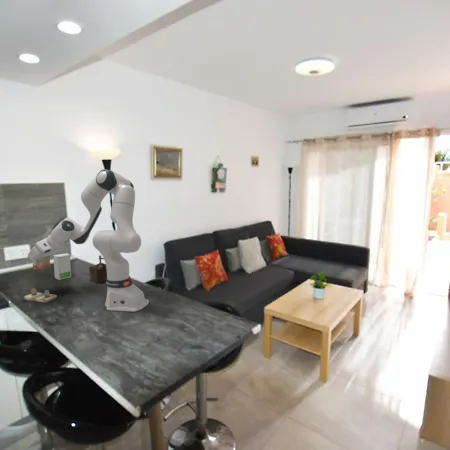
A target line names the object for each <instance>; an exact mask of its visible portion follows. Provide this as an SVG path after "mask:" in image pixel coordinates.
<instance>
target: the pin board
mask: <svg viewBox="0 0 450 450" xmlns="http://www.w3.org/2000/svg"><path fill="white" fill-rule="evenodd" d="M57 298H58V295H57V294H52V293H50V290H49V289H46V290H44V291H43V292H38V291H37V289H36V287H32V288H31V289H30V293H29V294H27V295H26V294H25V295H24V296H23V300H27V301H34V302H39V303H40V302H41V303H46V304H47V303H48V302H51V301H53V300H54V299H57Z"/></svg>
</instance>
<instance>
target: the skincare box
mask: <svg viewBox="0 0 450 450" xmlns="http://www.w3.org/2000/svg"><path fill="white" fill-rule="evenodd" d="M52 256H53V269H54V270H53V271H54V273H53V274H54V279H56V280H59V281H60V280H65V279H68V278H69V279H70V278H72V268H71V254H69V253H57V254H54V255H52Z"/></svg>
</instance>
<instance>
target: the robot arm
mask: <svg viewBox="0 0 450 450" xmlns="http://www.w3.org/2000/svg"><path fill="white" fill-rule="evenodd" d="M109 193H111V194H112V195H113V198H112V204H111V209H110V215H109V217H110V220H111V221H112V223H114V224H116V230H112V229H111V230H110V229H105V230H100V231H97V232H95V234H94V235H93V237H92V246H93V247H94V248H95V249H96V250H97V251H98V252H99V253H100V255H101V257H102V258H104V259H103V260H104V262H105V263H104V264H106V269H107V279H106V282H105V284H106V288H107V289H106V299H105V303H104V307H106V311H114V312H115V311H117V312H131V313H132V312H133V313H134V312H139V311H140V310H142V309H144V308H145V307H147V306H148V305H149V303H150V300H149V299H146V298H145V294H144V291H143V290H141V289H140V288H139V287H137V286H136V285H135V284H134V281H135V278H132V277H131V276H130V264H129V260H128V259H126V258H124V256H123V255H122V253H123V254H131V253H137V252H138V251H139V249H140V248H141V245H142V238H141V236H140V234H139V233H137V231H136V230H135V227H134V223H133V217H134V211H135V203H136V191H135V187H134V183H132V181H130V180H129V179H127V178H125V177H124V176H122V175H121V174H120V173H117V172H116V171H112V170H111V169H107V168H106V169H105V168H104V169H103V168H102V169H101V170H100V171H99V172H97V174H96V176H95V177H94V178H93V179H92V180H90V182H89V183H88V184H87V185H86V186H85V188H84V189H83V190H82V192H81V194H80V200H81V202H82V204H83V205H84V207H85V209H87V211H88V212H89V215H90V217H89V219H88V221H87V223H86V224H85V226H82V225H81V224H79V223H78V222H76V221H75V220H73V219H72V218H70V217H68V216H62V217H60V218H59V219H58V220H57V221H56V223H55V224H54V225H52V226H53V227H52V231H51V233H50V234H49V235H48V236H47V237H45V238H44V239H42V240H39V241H37V242H36V243H35V244H34V246H33V247H32V248H31V249H30V251H29V253H28V254H27V257H28V258H29V260H30V261H32V260H33V262H37V261H38V259H39V258H43V257H46V256H50V257H52V256H53V255H58V254H61V252H63V250H64V249H65V247H66V244H67V241H68V240H71V241H72V242H73V243H75V245H83V244H85V243H86V242H87V241H88V240H89V237H90V234H91V232H92V230H93V228H94V226H95V225H96V223H97V221H98V219H99V217H100V215H101V213H102V210H103V207H102V206H101V205H102V203H103V200H104V198H105V197H106V196H107V195H108V194H109ZM33 262H32V263H33Z"/></svg>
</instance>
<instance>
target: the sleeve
mask: <svg viewBox="0 0 450 450" xmlns="http://www.w3.org/2000/svg"><path fill="white" fill-rule="evenodd" d="M31 261H32V269H33V270H39V271H40V270H41V271H43V270H46V269H49V268H51V256H46V257H43V258H39V259H38V261H37V262H33V260H31Z"/></svg>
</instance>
